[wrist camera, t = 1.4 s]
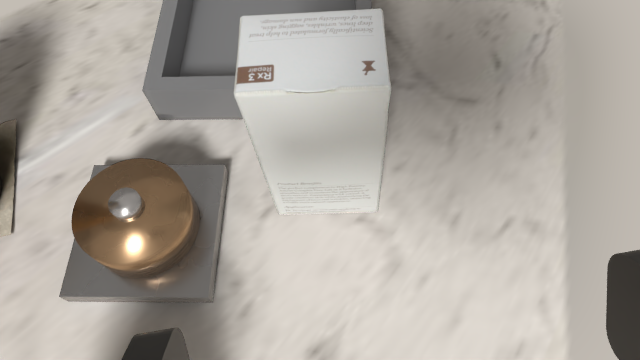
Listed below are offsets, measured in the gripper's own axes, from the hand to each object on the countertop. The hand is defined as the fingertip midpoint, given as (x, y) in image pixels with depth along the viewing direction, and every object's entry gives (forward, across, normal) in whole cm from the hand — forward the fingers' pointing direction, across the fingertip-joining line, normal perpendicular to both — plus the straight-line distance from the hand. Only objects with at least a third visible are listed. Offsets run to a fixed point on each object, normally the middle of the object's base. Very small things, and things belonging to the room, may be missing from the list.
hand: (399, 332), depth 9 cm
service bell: (+19, +11, +4) cm, 23 cm away
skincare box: (+20, 0, +4) cm, 21 cm away
